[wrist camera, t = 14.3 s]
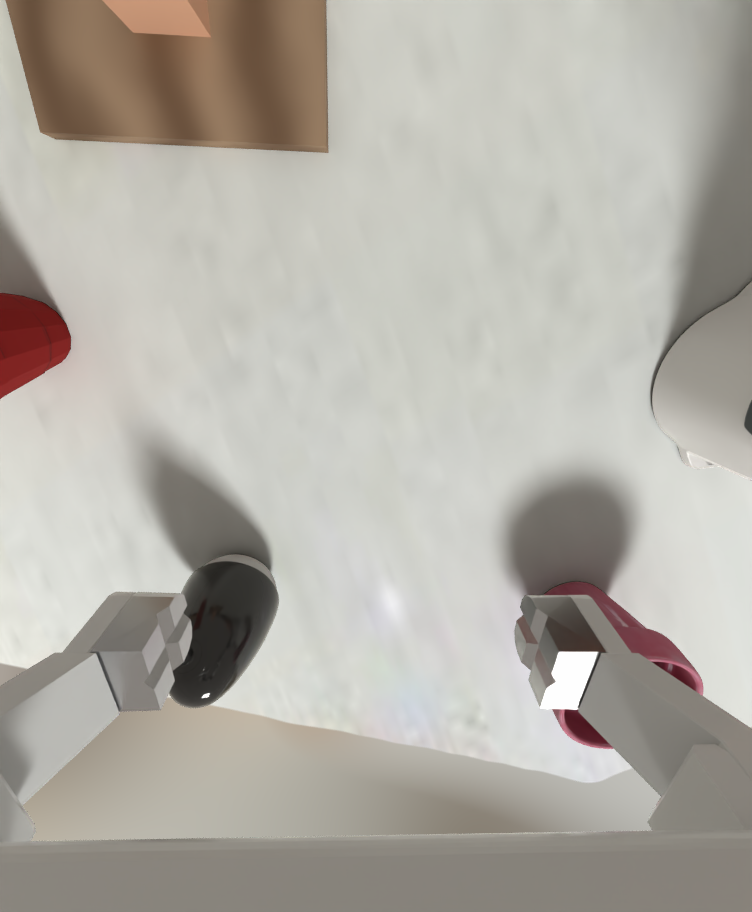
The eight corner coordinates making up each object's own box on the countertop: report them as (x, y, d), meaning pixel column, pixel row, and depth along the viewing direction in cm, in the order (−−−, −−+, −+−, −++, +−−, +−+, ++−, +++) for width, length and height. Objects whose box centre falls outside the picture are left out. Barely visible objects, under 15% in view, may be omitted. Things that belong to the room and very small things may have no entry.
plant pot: (647, 577, 48) (738, 674, 36) (590, 654, 53) (653, 759, 41) (543, 553, 46) (604, 647, 34) (495, 635, 51) (534, 740, 39)
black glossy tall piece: (268, 530, 43) (223, 648, 29) (295, 598, 48) (267, 729, 34) (183, 547, 44) (99, 670, 30) (217, 612, 48) (157, 746, 34)
